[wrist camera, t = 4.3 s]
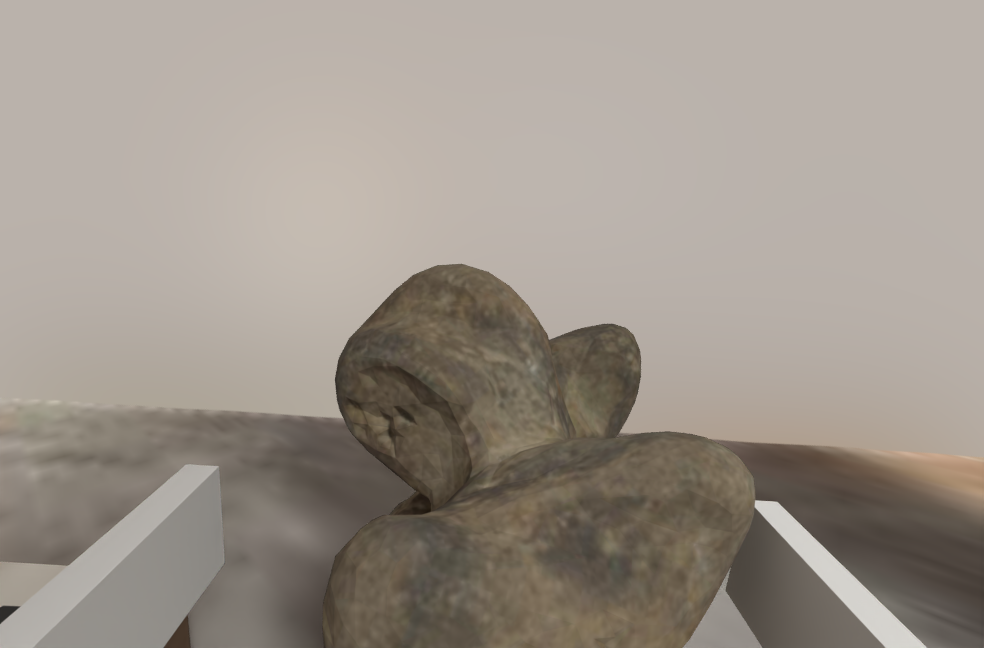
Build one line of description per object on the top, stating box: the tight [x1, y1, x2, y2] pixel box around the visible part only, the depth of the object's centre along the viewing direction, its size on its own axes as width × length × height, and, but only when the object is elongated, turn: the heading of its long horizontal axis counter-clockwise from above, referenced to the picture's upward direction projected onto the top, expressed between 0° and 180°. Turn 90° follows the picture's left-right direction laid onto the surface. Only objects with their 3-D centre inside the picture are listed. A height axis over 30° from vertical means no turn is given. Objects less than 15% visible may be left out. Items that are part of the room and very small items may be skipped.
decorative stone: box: [323, 264, 756, 648], centre depth 15 cm, size 16×11×15 cm
